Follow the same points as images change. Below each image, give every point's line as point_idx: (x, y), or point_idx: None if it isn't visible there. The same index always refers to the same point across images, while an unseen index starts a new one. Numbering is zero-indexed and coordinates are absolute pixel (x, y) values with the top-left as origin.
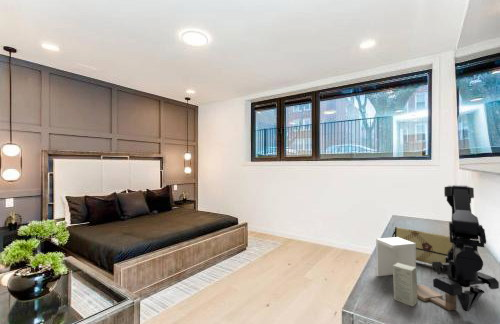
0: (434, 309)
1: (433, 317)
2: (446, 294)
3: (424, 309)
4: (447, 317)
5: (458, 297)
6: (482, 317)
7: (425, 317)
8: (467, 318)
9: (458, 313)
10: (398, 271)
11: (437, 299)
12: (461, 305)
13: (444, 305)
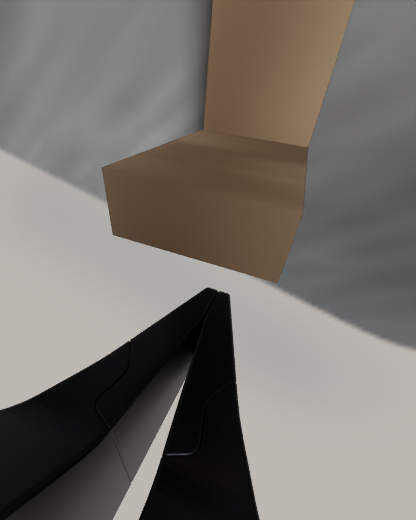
0: (125, 73)
1: (50, 155)
2: (117, 185)
3: (41, 35)
4: None
5: (113, 357)
6: (367, 312)
7: (4, 132)
8: None
9: None
10: None
11: None
12: (183, 305)
13: (217, 106)
